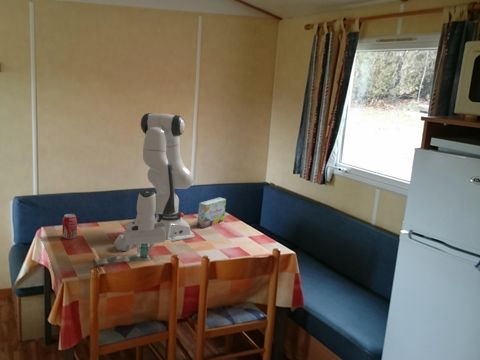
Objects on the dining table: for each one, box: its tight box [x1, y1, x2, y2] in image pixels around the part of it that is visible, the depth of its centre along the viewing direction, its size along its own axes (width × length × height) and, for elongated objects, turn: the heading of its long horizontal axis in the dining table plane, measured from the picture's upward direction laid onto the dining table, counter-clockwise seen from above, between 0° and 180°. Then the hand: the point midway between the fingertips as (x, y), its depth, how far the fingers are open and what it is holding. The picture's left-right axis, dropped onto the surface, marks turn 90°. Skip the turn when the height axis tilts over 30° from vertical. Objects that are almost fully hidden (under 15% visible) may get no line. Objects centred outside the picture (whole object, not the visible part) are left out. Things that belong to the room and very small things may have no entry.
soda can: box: [62, 213, 78, 240], centre depth 244 cm, size 7×7×12 cm
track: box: [92, 254, 151, 268], centre depth 222 cm, size 26×7×1 cm, turn 117°
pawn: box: [139, 243, 149, 259], centre depth 226 cm, size 4×4×8 cm
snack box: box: [196, 196, 227, 229], centre depth 287 cm, size 21×6×15 cm, turn 147°
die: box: [113, 233, 134, 252], centre depth 234 cm, size 8×9×10 cm
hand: (144, 251), depth 226 cm, fingers closed on pawn, 4 cm apart
